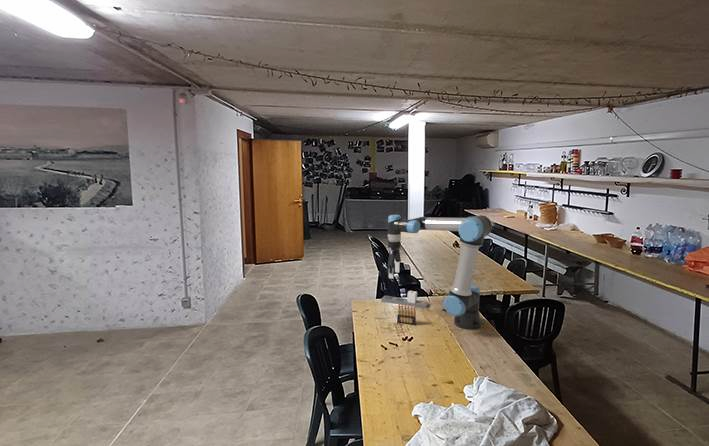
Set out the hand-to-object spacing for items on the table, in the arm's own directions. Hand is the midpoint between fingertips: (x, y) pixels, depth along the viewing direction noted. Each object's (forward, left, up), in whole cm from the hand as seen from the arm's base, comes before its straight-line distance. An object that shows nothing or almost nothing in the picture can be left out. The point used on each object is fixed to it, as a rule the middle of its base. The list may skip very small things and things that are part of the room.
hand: (394, 275), depth 238 cm
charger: (-7, -17, -23) cm, 29 cm away
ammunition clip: (-12, +12, -25) cm, 30 cm away
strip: (-8, -17, -24) cm, 30 cm away
